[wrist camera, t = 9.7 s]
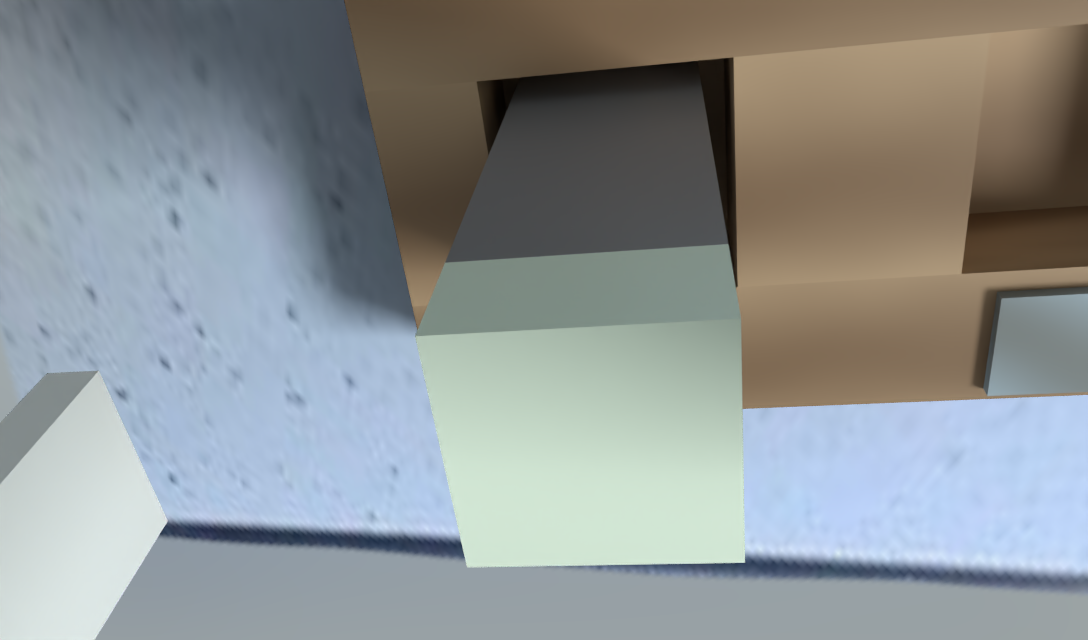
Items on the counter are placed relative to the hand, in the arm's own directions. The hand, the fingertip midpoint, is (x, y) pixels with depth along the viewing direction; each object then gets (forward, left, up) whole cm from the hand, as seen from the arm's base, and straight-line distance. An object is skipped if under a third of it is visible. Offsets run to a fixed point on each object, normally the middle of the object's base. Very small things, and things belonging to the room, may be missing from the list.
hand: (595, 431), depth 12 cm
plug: (0, 0, -12) cm, 12 cm away
